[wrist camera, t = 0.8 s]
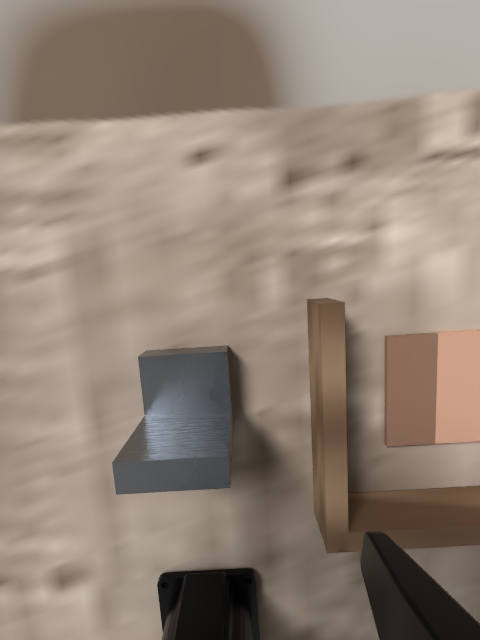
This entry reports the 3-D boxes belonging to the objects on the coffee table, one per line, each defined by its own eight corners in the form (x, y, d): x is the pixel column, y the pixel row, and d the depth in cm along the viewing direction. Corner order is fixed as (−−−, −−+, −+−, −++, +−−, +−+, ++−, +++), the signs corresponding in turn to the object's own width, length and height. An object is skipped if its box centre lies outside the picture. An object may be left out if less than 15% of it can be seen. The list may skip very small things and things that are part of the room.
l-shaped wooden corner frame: (538, 499, 20) (591, 538, 17) (314, 511, 20) (327, 552, 17) (555, 283, 18) (618, 284, 15) (307, 299, 18) (320, 303, 15)
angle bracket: (233, 422, 19) (230, 487, 13) (154, 427, 19) (116, 494, 13) (227, 345, 18) (221, 377, 13) (146, 350, 18) (101, 385, 13)
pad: (511, 436, 19) (515, 439, 19) (384, 443, 19) (387, 446, 19) (518, 327, 18) (523, 328, 18) (384, 335, 18) (387, 336, 18)
